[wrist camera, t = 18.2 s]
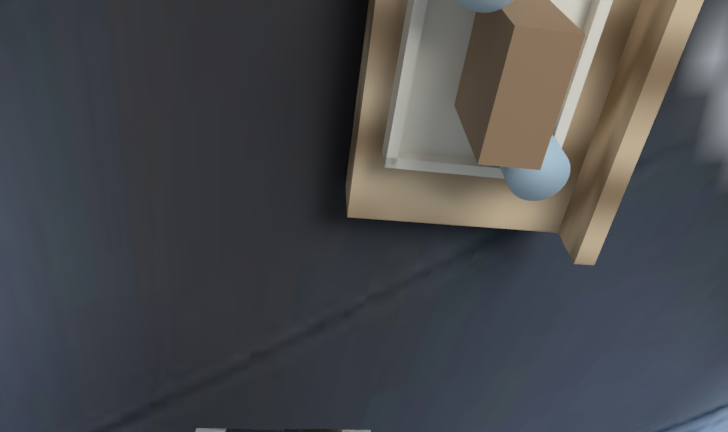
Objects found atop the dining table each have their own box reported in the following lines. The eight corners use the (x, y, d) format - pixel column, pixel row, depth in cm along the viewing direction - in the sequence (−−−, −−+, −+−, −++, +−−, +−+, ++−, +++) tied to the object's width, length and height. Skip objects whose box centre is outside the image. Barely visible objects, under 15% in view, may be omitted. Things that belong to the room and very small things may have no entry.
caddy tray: (540, 166, 36) (581, 240, 30) (382, 150, 35) (393, 224, 29) (623, -85, 28) (699, -52, 23) (427, -114, 27) (455, -87, 22)
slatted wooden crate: (559, 202, 41) (594, 265, 36) (345, 185, 40) (348, 248, 34) (699, -198, 29) (783, -194, 24) (399, -245, 28) (417, -251, 22)
